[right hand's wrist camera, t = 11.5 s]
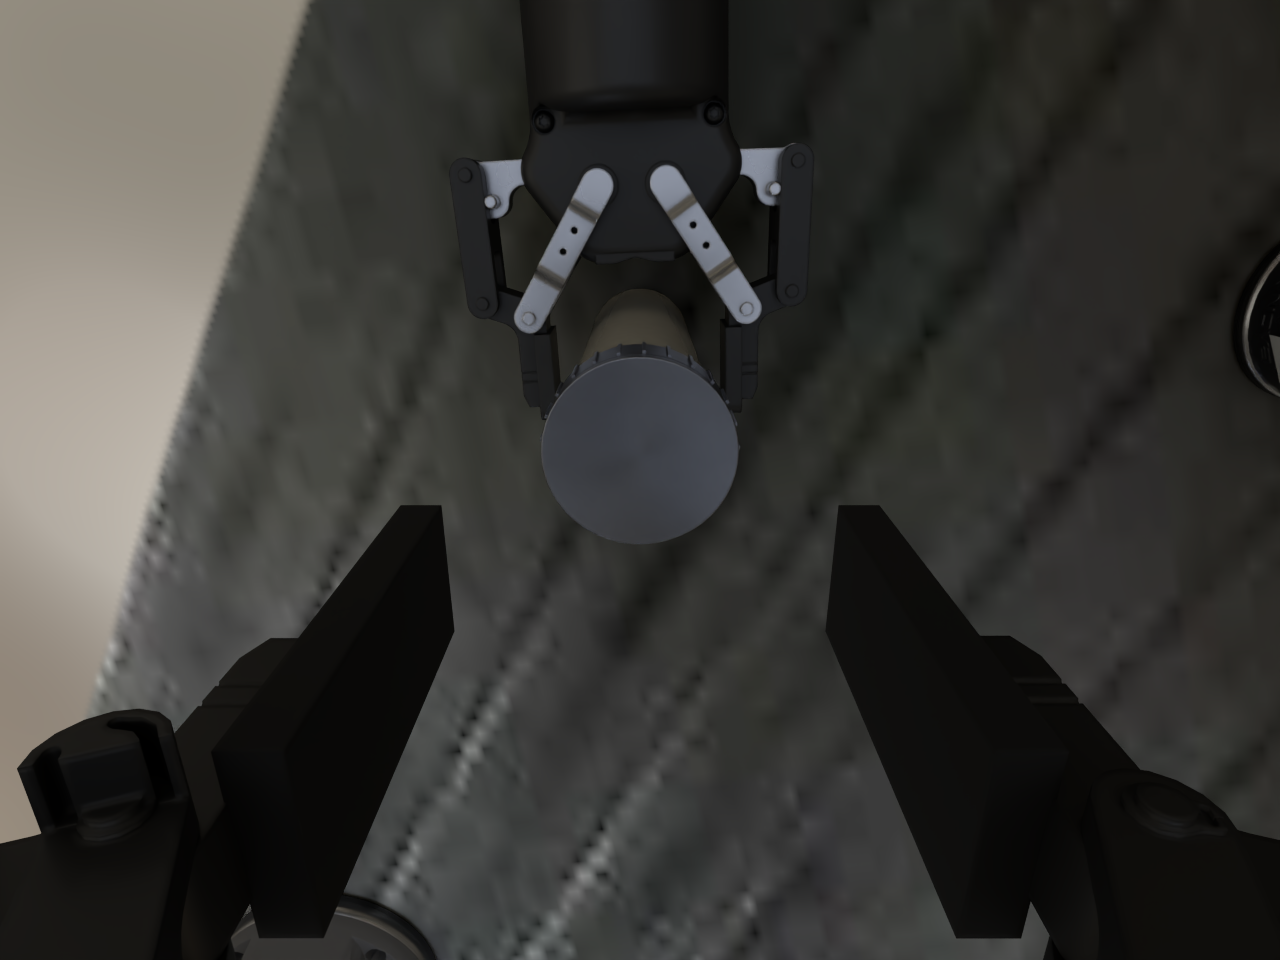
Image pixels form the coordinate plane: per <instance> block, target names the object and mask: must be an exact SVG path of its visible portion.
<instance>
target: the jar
mask: <svg viewBox="0 0 1280 960" xmlns="http://www.w3.org/2000/svg"><path fill="white" fill-rule="evenodd" d="M643 341H644V342H646V344H650V345H656V346H662V347H665V348H666V346H667V345H668V346H670V348H671V349H672V350H675V351H677V352H679V353H681V354H684V355H685V356H687V357H688V356H689V355H691V356H692V357H693V360H694V361H695V362H696V363H698V364H699V365H700V362H699V360H698V357H697V354H696V351H695V348H694V346H693V343H692V340H691V337H690V334H689V332H688V329H687V326H686V323H685V320H684V318H683V315H682V314H681V312H680V310H679V309H678V307H677V306H676V305H675V304H674V303H673V302H672V301H671V300H670V299H669V298H668V297H666V296H664V295H663V294H661V293H659V292H656V291H653V290H649V289H631V290H627V291H624V292H621V293H619V294H617V295H616V296H614V297H613V298H611V299H610V300H609V301H608V302H607V303H606V304H605V305H604V306H603V307H602V309H601V310H600V312H599V313H598V315H597V318H596V320H595V323H594V326H593V328H592V331H591V334H590V337H589V340H588V342H587V345H586V348H585V351H584V354H583V357H582V359H581V362H580V365H581V364H582V363H584V362H585V361H586V360H588V359H589V358H591V357H593V356H594V353H595V352H597V351H598V352H599V353H601V352H603V351H606V350H608V349H611V348H615V347H617V345H618V344H620V343H621V344H622V346H623V345H631V344H642V342H643ZM580 365H579V366H580ZM700 366H701V365H700Z"/></svg>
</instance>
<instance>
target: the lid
mask: <svg viewBox="0 0 1280 960" xmlns="http://www.w3.org/2000/svg"><path fill="white" fill-rule="evenodd" d="M555 396H556V398H555V400H554V402H553V403H550V405H549V407H548V409H547V412H546V414H545V417H544V418H546V422H545V426H544V430H543V433H542V435H541V438H540V442H541V460H542V466H543V472H544V475H545V478H546V481H547V484H548V486H549V488H550V490H551V492H552V494H553V496H554V497H555V499H556V500H557V502H558V504H559V505H560V506H561V507H562V508H563V510H564V511H565V512H566V513H567V514H568V515H569V516H570V517H571V518H572V519H573V520H574V521H576V522H577V523H578V524H580V525H581V526H583V527H584V528H585V529H587V530H589V531H591V532H593V533H595V534H596V535H599V536H601V537H604V538H606V539H610V540H613V541H617V542H622V543H630V544H650V543H658V542H662V541H667V540H670V539H673V538H676V537H679V536H681V535H683V534H685V533H687V532H689V531H691V530H693V529H694V528H696V527H697V526H699V525H700V524H702V523H703V522H704V521H705V520H707V519H708V518H709V517H710V516H711V515H712V514H713V513H714V512H715V511H716V510H717V509H718V507H719V506H720V505H721V503H722V502H723V500H724V499H725V498H726V496H727V494H728V492H729V490H730V488H731V486H732V484H733V481H734V478H735V475H736V471H737V466H738V459H739V450H740V445H739V441H738V434H737V430H736V426H738V424H737V421H736V419H735V416H734V414H733V412H732V410H730V409H729V407H728V405H727V404H728V403H729V400H728V398H727V396H726V393H725V391H724V389H721V390H720V388H719V386H718V385H717V384H716V382H715V381H714V379H713V376H712V374H711V372H710V370H707V371H706V370H705V369H704V368H702V367H701V366H700V365H699V364H698V363H696V362H695V361H694V360H693V357H692V356H691V355H689V356H688V357H687V356H685V355H684V354H681V353H679V352H677V351H675V350H672V349H671V348H670V346H668V345H667V346H666V348H665V347H662V346H656V345H650V344H646V342H644V341H643V342H642V344H631V345H623V346H622V344H621V343H620V344H618V345H617V347H615V348H611V349H608V350H606V351H603V352H601V353H599V352H598V351H597V352H595V353H594V356H593V357H591V358H589V359H588V360H586V361H585V362H584V363H582V364H581V365H580V366H579V365H578V364H577V365H576V366H575V367H574V370H573V372H572V373H571V374H570V376H569V377H568V378H567V379H566V381H565V382H564V383H563V382H561V383H560V384H559V387H558V389H557V391H556V394H555Z"/></svg>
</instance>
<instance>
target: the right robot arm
mask: <svg viewBox="0 0 1280 960" xmlns="http://www.w3.org/2000/svg"><path fill="white" fill-rule="evenodd" d="M453 633H454V622H453V613H452V603H451V593H450V584H449V574H448V565H447V555H446V545H445V536H444V526H443V517H442V507H441V505H401V506H400V507H399V508H398V510H397V511H396V512H395V513H394V515H393V516H392V517H391V519H390V520H389V521H388V523H387V524H386V525H385V526H384V528H383V529H382V530H381V532H380V533H379V534H378V536H377V537H376V538H375V539H374V541H373V542H372V543H371V545H370V546H369V547H368V548H367V550H366V551H365V552H364V554H363V555H362V556H361V558H360V559H359V560H358V561H357V563H356V564H355V565H354V567H353V568H352V569H351V571H350V572H349V573H348V574H347V576H346V577H345V578H344V580H343V581H342V582H341V583H340V585H339V586H338V587H337V589H336V590H335V591H334V593H333V594H332V595H331V596H330V598H329V599H328V600H327V602H326V603H325V604H324V606H323V607H322V608H321V609H320V611H319V612H318V613H317V615H316V616H315V617H314V618H313V620H312V621H311V622H310V624H309V625H308V626H307V628H306V629H305V630H304V631H303V633H302V634H301V635H300V637H299V638H270V639H269V640H267V641H265V642H264V643H262V644H261V645H259V646H258V647H256V648H255V649H253V650H252V651H250V652H248V653H247V654H245V655H244V656H242V657H241V658H239V659H238V661H237V662H236V663H235V664H234V665H233V666H232V667H231V669H230V670H229V671H228V672H227V673H226V674H225V676H224V677H223V678H222V679H221V680H220V681H219V686H215V687H214V688H213V689H212V691H211V692H210V693H209V694H208V695H207V696H206V698H205V699H204V700H203V701H202V706H198V707H197V708H196V709H195V710H194V711H193V713H192V714H191V715H190V716H189V717H188V718H187V720H186V721H185V722H184V723H183V724H182V725H181V726H180V728H179V729H178V730H177V731H176V732H175V733H174V731H173V727H172V724H171V721H170V720H169V719H168V718H166V717H165V716H164V715H162V714H161V713H160V712H157V711H150V710H144V709H132V710H122V711H113V712H110V713H106V714H103V715H99V716H96V717H93V718H89V719H86V720H83V721H81V722H79V723H77V724H75V725H73V726H70V727H68V728H66V729H64V730H62V731H60V732H58V733H56V734H54V735H53V736H52V737H50V738H49V739H47V740H46V741H45V742H43V743H42V744H40V745H39V746H37V747H36V748H35V749H33V750H32V751H31V752H30V753H29V755H28V756H27V757H26V758H25V759H24V761H23V762H22V763H21V764H20V766H19V767H18V768H17V770H18V772H19V775H20V778H21V780H22V783H23V786H24V788H25V791H26V794H27V796H28V799H29V802H30V804H31V807H32V809H33V812H34V815H35V817H36V820H37V823H38V825H39V828H40V831H41V834H39V835H35V836H31V837H27V838H23V839H19V840H14V841H10V842H6V843H1V844H0V960H436V959H435V957H434V954H433V952H432V950H431V948H430V947H429V945H428V944H427V942H426V941H425V939H424V938H423V937H422V936H421V935H420V934H419V933H418V932H417V931H416V930H415V929H414V928H413V927H412V926H411V925H410V924H408V923H407V922H406V921H405V920H403V919H402V918H400V917H399V916H397V915H396V914H394V913H392V912H390V911H389V910H387V909H384V908H382V907H380V906H378V905H375V904H373V903H370V902H368V901H364V900H361V899H358V898H353V897H349V896H344V895H342V894H343V892H344V889H345V887H346V885H347V882H348V880H349V878H350V875H351V873H352V871H353V868H354V866H355V864H356V861H357V859H358V856H359V854H360V852H361V849H362V847H363V845H364V842H365V840H366V838H367V835H368V833H369V831H370V828H371V826H372V824H373V821H374V819H375V817H376V814H377V812H378V810H379V807H380V805H381V802H382V800H383V798H384V795H385V793H386V791H387V788H388V786H389V784H390V781H391V779H392V777H393V774H394V772H395V770H396V767H397V765H398V763H399V760H400V758H401V755H402V753H403V751H404V748H405V746H406V744H407V741H408V739H409V737H410V734H411V732H412V730H413V727H414V725H415V723H416V720H417V718H418V716H419V713H420V711H421V709H422V706H423V704H424V701H425V699H426V697H427V694H428V692H429V690H430V687H431V685H432V683H433V680H434V678H435V676H436V673H437V671H438V669H439V666H440V664H441V662H442V659H443V657H444V654H445V652H446V650H447V647H448V645H449V643H450V640H451V638H452V636H453ZM826 633H827V636H828V638H829V640H830V643H831V645H832V647H833V650H834V652H835V654H836V657H837V659H838V662H839V664H840V666H841V669H842V671H843V673H844V676H845V678H846V680H847V683H848V685H849V687H850V690H851V692H852V694H853V697H854V699H855V701H856V704H857V706H858V709H859V711H860V713H861V716H862V718H863V720H864V723H865V725H866V727H867V730H868V732H869V734H870V737H871V739H872V741H873V744H874V746H875V748H876V751H877V753H878V755H879V758H880V760H881V763H882V765H883V767H884V770H885V772H886V774H887V777H888V779H889V781H890V784H891V786H892V788H893V791H894V793H895V795H896V798H897V800H898V802H899V805H900V807H901V810H902V812H903V814H904V817H905V819H906V821H907V824H908V826H909V828H910V831H911V833H912V835H913V838H914V840H915V842H916V845H917V847H918V849H919V852H920V854H921V856H922V859H923V861H924V864H925V866H926V868H927V871H928V873H929V875H930V878H931V880H932V882H933V885H934V887H935V889H936V892H937V894H938V896H939V899H940V901H941V903H942V906H943V908H944V911H945V913H946V915H947V918H948V920H949V922H950V925H951V927H952V929H953V932H954V934H955V936H956V938H1021V936H1022V933H1023V929H1024V925H1025V921H1026V917H1027V913H1028V909H1029V905H1030V902H1032V904H1033V906H1034V908H1035V909H1036V911H1037V913H1038V915H1039V917H1040V918H1041V920H1042V922H1043V924H1044V926H1045V927H1046V929H1047V931H1048V933H1049V935H1050V937H1049V940H1048V944H1047V947H1046V951H1045V955H1044V958H1043V960H1280V840H1276V839H1272V838H1267V837H1263V836H1259V835H1254V834H1250V833H1246V832H1243V831H1239V830H1237V829H1236V827H1235V826H1234V824H1233V823H1232V822H1231V820H1230V819H1229V817H1228V816H1227V815H1226V813H1225V812H1224V811H1222V810H1221V809H1220V808H1219V807H1218V806H1216V805H1215V804H1214V803H1213V802H1211V801H1210V800H1209V799H1208V798H1207V797H1205V796H1204V795H1203V794H1201V793H1199V792H1197V791H1195V790H1194V789H1192V788H1190V787H1188V786H1186V785H1184V784H1182V783H1181V782H1179V781H1177V780H1174V779H1171V778H1168V777H1165V776H1162V775H1159V774H1156V773H1153V772H1150V771H1144V770H1140V769H1139V768H1138V767H1137V765H1136V764H1135V763H1134V762H1133V761H1132V760H1131V759H1130V757H1129V756H1128V755H1127V754H1126V753H1125V752H1124V750H1123V749H1122V748H1121V747H1120V746H1119V745H1118V744H1117V742H1116V741H1115V740H1114V739H1113V738H1112V737H1111V736H1110V734H1109V733H1108V732H1107V731H1106V730H1105V729H1104V728H1103V726H1102V725H1101V724H1100V723H1099V722H1098V721H1097V719H1096V718H1095V717H1094V716H1093V715H1092V714H1091V713H1090V711H1089V710H1088V709H1087V708H1086V707H1085V706H1084V705H1083V704H1079V702H1078V698H1077V697H1076V695H1075V694H1074V693H1073V692H1072V691H1071V690H1070V688H1069V687H1068V686H1067V685H1066V684H1062V682H1061V678H1060V677H1059V676H1058V675H1057V674H1056V672H1055V671H1054V670H1053V669H1052V668H1051V667H1050V666H1049V664H1048V663H1047V662H1046V661H1045V660H1044V659H1043V657H1042V656H1041V655H1039V654H1037V653H1036V652H1034V651H1033V650H1031V649H1030V648H1028V647H1027V646H1025V645H1023V644H1022V643H1020V642H1019V641H1017V640H1016V639H1014V638H1012V637H1011V636H980V635H979V634H978V633H977V631H976V630H975V629H974V628H973V626H972V625H971V624H970V622H969V621H968V620H967V618H966V617H965V616H964V615H963V613H962V612H961V611H960V609H959V608H958V607H957V606H956V604H955V603H954V602H953V600H952V599H951V598H950V596H949V595H948V594H947V593H946V591H945V590H944V589H943V587H942V586H941V585H940V583H939V582H938V581H937V580H936V578H935V577H934V576H933V574H932V573H931V572H930V571H929V569H928V568H927V567H926V565H925V564H924V563H923V561H922V560H921V559H920V558H919V556H918V555H917V554H916V552H915V551H914V550H913V548H912V547H911V546H910V545H909V543H908V542H907V541H906V539H905V538H904V537H903V536H902V534H901V533H900V532H899V530H898V529H897V528H896V526H895V525H894V524H893V523H892V521H891V520H890V519H889V517H888V516H887V515H886V513H885V512H884V511H883V510H882V508H881V507H880V506H879V505H839V507H838V517H837V526H836V536H835V545H834V555H833V565H832V574H831V584H830V593H829V603H828V613H827V622H826ZM249 904H250V905H251V909H252V911H251V912H250V913H248V914H247V915H246V916H245V917H244V918H243V919H242V917H243V915H244V913H245V911H246V910H247V908H248V906H249ZM241 919H242V920H241Z"/></svg>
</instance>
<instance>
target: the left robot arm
mask: <svg viewBox="0 0 1280 960" xmlns="http://www.w3.org/2000/svg"><path fill="white" fill-rule="evenodd" d="M520 10H521V22H522V34H523V45H524V57H525V68H526V80H527V91H528V103H529V114H530V136H529V141H528V145H527V148H526V150H525V153H524V155H523V157H522V159H520V160H505V161H490V162H482V161H478V160H474V159H469V158H459V159H457V160H456V161H454V162H453V164H452V165H451V167H450V171H449V177H450V184H451V191H452V198H453V205H454V212H455V219H456V226H457V233H458V240H459V247H460V254H461V261H462V268H463V275H464V282H465V289H466V296H467V303H468V308H469V310H470V312H471V313H472V314H473V315H474V316H475V317H477V318H480V319H487V318H488V319H492V320H495V321H498V322H501V323H504V324H507V325H509V326H510V327H511V328H512V329H513V330H514V331H515V332H516V334H517V337H518V341H519V351H520V361H521V371H522V380H523V390H524V397H525V399H526V401H527V402H528V404H529V406H530V407H540V410H541V417H542V420H546V418H544V417H545V414H546V412H547V409H548V407H549V405H550V403H553V402H554V400H555V398H556V396H555V394H556V391H557V389H558V387H559V384H560V383H561V381H560V369H559V357H558V345H557V333H556V326H551V325H550V314H551V312H552V310H553V308H554V307H555V305H556V303H557V301H558V299H559V297H560V295H561V293H562V292H563V290H564V288H565V286H566V284H567V282H568V281H569V279H570V277H571V275H572V273H573V272H574V270H575V268H576V266H577V264H578V262H579V260H580V259H581V257H584V258H586V259H587V260H590V261H593V262H596V264H615V263H618V262H621V261H624V260H628V259H631V258H634V257H637V258H642V259H646V260H650V261H655V262H660V261H675V258H678V257H680V256H682V255H684V254H686V253H687V252H688V251H690V253H691V254H692V256H693V257H694V259H695V261H696V262H697V264H698V265H699V267H700V268H701V270H702V271H703V273H704V274H705V276H706V277H707V279H708V280H709V282H710V283H711V285H712V286H713V288H714V289H715V291H716V292H717V294H718V295H719V297H720V299H721V300H722V302H723V303H724V305H725V319H720V390H721V389H724V391H725V393H726V396H727V398H728V400H729V403H728V404H727V405H728V407H729V409H730V410H732V412H733V413H737V412H741V410H742V399H751V398H753V396H754V394H755V391H756V389H757V378H758V374H757V372H758V328H759V325H760V322H761V321H762V319H763V318H764V317H765V316H766V315H767V314H769V313H771V312H773V311H776V310H778V309H781V308H783V307H786V306H796V305H798V304H800V303H801V302H802V301H803V300H804V298H805V297H806V294H807V283H808V264H809V245H810V227H811V208H812V189H813V171H814V154H813V152H812V150H811V148H810V147H809V146H808V145H806V144H803V143H792V144H789V145H786V146H784V147H782V148H758V149H740V148H739V146H738V144H737V142H736V140H735V138H734V136H733V134H732V131H731V128H730V123H729V116H728V0H520ZM739 175H741V176H744V177H746V178H748V179H749V180H750V182H751V184H752V186H753V192H754V196H755V198H756V200H757V201H758V202H759V203H761V204H763V205H770V214H769V243H768V272H767V276H766V277H764V278H761V279H759V280H757V281H754V282H752V283H748V281H747V280H746V278H745V277H744V275H743V273H742V272H741V270H740V269H739V267H738V265H737V264H736V262H735V260H734V258H733V256H732V255H731V253H730V252H729V250H728V248H727V247H726V245H725V244H724V242H723V241H722V239H721V237H720V236H719V234H718V233H717V231H716V230H715V228H714V226H713V225H712V223H711V222H710V221H711V219H712V218H713V216H714V215H715V213H716V212H717V210H718V209H719V207H720V206H721V204H722V203H723V201H724V200H725V198H726V196H727V195H728V193H729V192H730V190H731V189H732V187H733V186H734V184H735V183H736V181H737V180H738V178H739ZM524 185H525V187H526V189H527V190H528V192H529V193H530V194H531V195H532V197H533V198H534V199H535V200H536V202H537V203H538V204H539V205H540V207H541V208H542V209H543V210H544V212H545V213H546V214H547V216H548V217H549V218H550V219H551V221H552V222H553V223H554V224H555V226H556V227H557V229H556V231H555V233H554V235H553V237H552V239H551V241H550V243H549V245H548V247H547V249H546V251H545V253H544V254H543V256H542V258H541V260H540V262H539V264H538V266H537V269H536V271H535V274H534V276H533V278H532V280H531V282H530V284H529V286H528V288H527V290H526V291H525V293H523V292H519V291H516V290H513V289H510V288H507V286H506V278H505V270H504V262H503V253H502V245H501V237H500V229H499V221H498V218H500V217H504V216H506V215H507V214H509V212H510V211H511V209H512V205H513V196H514V193H515V192H516V190H517V189H518V188H520V187H521V186H524ZM1234 347H1235V352H1236V356H1237V359H1238V361H1239V364H1240V366H1241V368H1242V369H1243V371H1244V373H1245V374H1246V375H1247V377H1248V378H1249V379H1250V380H1251V381H1252V382H1253V383H1254V384H1255V385H1256V386H1258V387H1259V388H1260V389H1262V390H1264V391H1265V392H1267V393H1270V394H1272V395H1274V396H1277V397H1280V243H1279V244H1278V245H1277V246H1276V247H1275V248H1274V249H1273V250H1272V251H1271V252H1270V253H1269V254H1268V255H1267V256H1266V257H1265V259H1264V260H1263V261H1262V262H1261V264H1260V265H1259V266H1258V268H1257V269H1256V270H1255V272H1254V273H1253V275H1252V277H1251V278H1250V280H1249V282H1248V283H1247V285H1246V287H1245V289H1244V291H1243V294H1242V296H1241V299H1240V301H1239V304H1238V308H1237V311H1236V316H1235V321H1234Z"/></svg>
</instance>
